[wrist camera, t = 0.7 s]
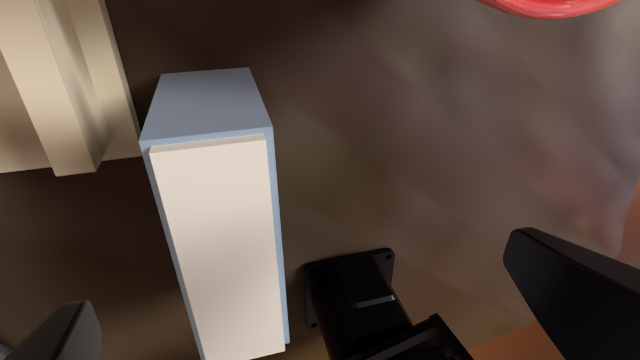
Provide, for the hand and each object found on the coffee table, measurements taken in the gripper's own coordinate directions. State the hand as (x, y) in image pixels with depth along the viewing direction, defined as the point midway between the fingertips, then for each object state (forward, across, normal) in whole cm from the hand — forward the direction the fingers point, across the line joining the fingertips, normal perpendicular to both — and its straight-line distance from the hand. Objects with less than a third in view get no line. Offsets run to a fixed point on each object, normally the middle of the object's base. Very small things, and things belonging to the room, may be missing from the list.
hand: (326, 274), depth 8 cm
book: (+13, +2, +4) cm, 14 cm away
